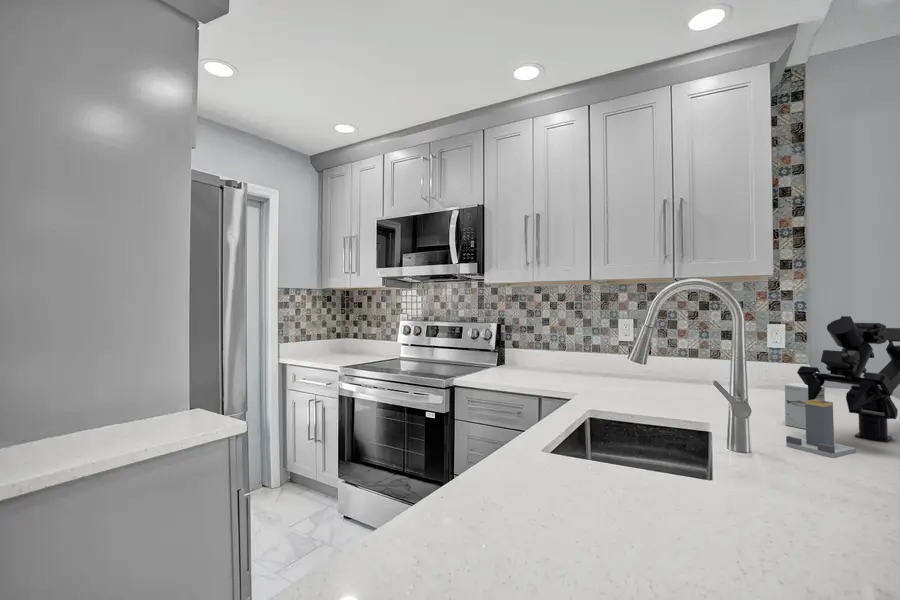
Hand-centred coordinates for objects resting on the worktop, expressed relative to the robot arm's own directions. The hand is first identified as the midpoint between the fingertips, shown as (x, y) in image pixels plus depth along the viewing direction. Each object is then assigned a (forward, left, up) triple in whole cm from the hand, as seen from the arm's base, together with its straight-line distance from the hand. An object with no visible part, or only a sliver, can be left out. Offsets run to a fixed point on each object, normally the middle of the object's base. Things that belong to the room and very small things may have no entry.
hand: (830, 404), depth 113 cm
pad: (+5, -1, -11) cm, 12 cm away
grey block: (+5, -1, -10) cm, 11 cm away
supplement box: (-19, -10, -11) cm, 24 cm away
